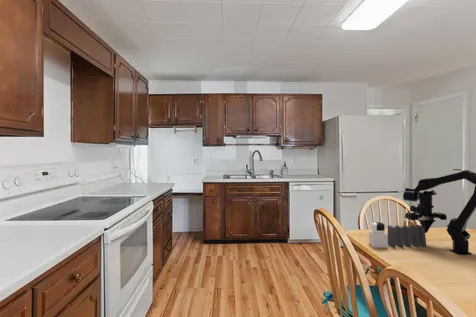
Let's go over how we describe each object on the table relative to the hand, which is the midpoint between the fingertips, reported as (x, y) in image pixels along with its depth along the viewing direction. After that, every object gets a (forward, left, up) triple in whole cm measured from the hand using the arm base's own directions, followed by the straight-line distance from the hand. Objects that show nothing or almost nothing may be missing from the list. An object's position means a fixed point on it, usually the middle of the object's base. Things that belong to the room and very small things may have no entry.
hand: (425, 232), depth 164 cm
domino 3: (0, +10, -7) cm, 12 cm away
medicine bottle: (0, +25, -7) cm, 26 cm away
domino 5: (0, +2, -7) cm, 7 cm away
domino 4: (0, +6, -7) cm, 9 cm away
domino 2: (0, +14, -7) cm, 15 cm away
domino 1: (0, +18, -7) cm, 19 cm away
